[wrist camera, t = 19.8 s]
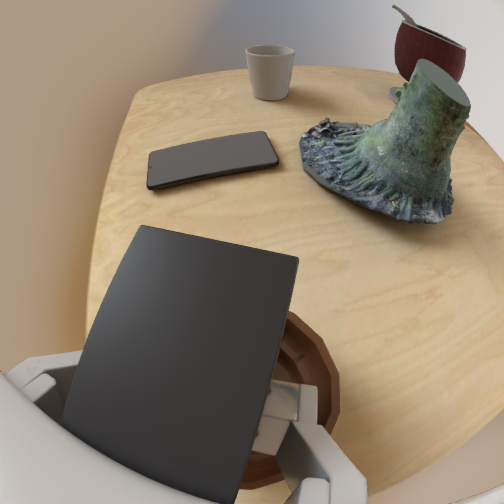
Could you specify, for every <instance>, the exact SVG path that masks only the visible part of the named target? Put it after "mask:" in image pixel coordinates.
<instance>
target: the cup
mask: <svg viewBox="0 0 504 504" xmlns="http://www.w3.org/2000/svg"><path fill="white" fill-rule="evenodd" d="M245 52H246V58H247V64H248V69H249V75H250V79H251V84H252V89H253V94H254V96H256V97H257V98H259V99H262V100H268V101H274V100H280V99H283V98H285V97H286V96H287V94H288V89H289V85H290V80H291V75H292V69H293V62H294V55H295V51H294V49H292V48H290V47H286V46H281V45H257V46H252V47H249V48H247V49H246V51H245Z"/></svg>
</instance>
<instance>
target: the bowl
mask: <svg viewBox="0 0 504 504" xmlns="http://www.w3.org/2000/svg"><path fill="white" fill-rule="evenodd" d="M272 379H276V380H281V381H286V382H291V383H297V384H305V385H311V386H316V387H317V388H318V399H317V425H322V426H323V427H324V429H325V430H326V431H327V432H328V434H329V435H330V434H331V432H332V430H333V428H334V425H335V423H336V421H337V418H338V416H339V412H340V388H339V373H338V370H337V368H336V366H335V364H334V362H333V360H332V358H331V356H330V353H329V351H328V349H327V347H326V345H325V343H324V341H323V339H322V338H321V337H320V336H319V335H318V334H317V333H316V332H314V331H313V330H312V329H311V328H310V327H309V326H308V325H307V324H306V323H304V322H303V321H302V320H301V319H300V318H299V317H298V316H297V315H296V314H294V313H293V312H290V311H288V315H287V319H286V324H285V328H284V332H283V337H282V341H281V345H280V349H279V353H278V357H277V361H276V365H275V369H274V373H273V377H272ZM282 480H285V478H284V476H283V473H282V471H281V469H280V467H279V465H278V463H277V461H276V458H275V456H272V455H268V454H263V453H259V452H255V451H251V454H250V457H249V460H248V463H247V467H246V470H245V473H244V476H243V479H242V482H241V485H240V488H239V489H244V490H252V489H257V488H260V487H264V486H267V485H270V484H273V483H276V482H279V481H282Z"/></svg>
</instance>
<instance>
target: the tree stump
mask: <svg viewBox="0 0 504 504" xmlns="http://www.w3.org/2000/svg"><path fill="white" fill-rule="evenodd" d="M403 86H404V87H403V89H399V90H397V91H396V92H395V95H396V96H397V98H398V99H397V100H398V103H397V105H396V106H395V108H394V110H393V111H392V113H391V114H390V116H389V118H387V119H384V120H381V121H379V122H377V123H375V124H374V125H373V126H372V127H371V126H369V125H364V124H360V123H357V122H356V123H344V122H338V121H337V122H332V123H331V122H330V119H329V118H325V120H324V121H321V122H320V124H319V125H318V126H315V127H313V128H311V129H310V130H309V131H308V132H306V133H304V134H303V136H302V137H301V140H300V142H299V147H300V152H301V157H302V163H303V168H304V171H305V172H306V173H307V174H308V175H309V176H311V177H312V178H313V179H314V180H315V181H316V182H317V183H318V184H319V185H321V186H322V187H325V188H327V189H329V190H331V191H333V192H334V193H336V194H338V195H340V196H342V197H344V198H346V199H348V200H350V201H352V202H354V203H356V204H357V205H361V206H363V207H365V208H368V209H371V210H375V211H379V212H382V213H383V214H385V215H386V216H389V217H391V218H394V219H398V220H401V221H406V222H410V223H414V222H415V223H428V224H437V223H439V222H441V221H444V220H445V219H444V217H445V216H446V215H448V214H451V209H452V208H451V205H452V204H453V202H454V199H453V197H452V192H451V190H452V186H451V182H452V179H451V178H449V177H450V172H451V166H450V155H451V153H452V150H453V147H454V145H455V143H456V141H457V139H458V137H459V135H460V133H461V132H462V131H463V129H465V127H464V122H465V121H466V119H467V118H468V117H469V112H470V108H471V104H470V101H469V99H468V97H467V95H466V93H465V92H464V91H463V89H462V88H461V86H460V85H459V84H458V83H457V82H456V81H455V80H454V79H453V78H452V77H451V76H450V75H449V74H448V73H447V72H445V71H444V70H443V69H441V68H440V67H439V66H437V65H435V64H434V63H432V62H430V61H428V60H426V59H419V60H418V62H417V64H416V67H415V70H414V72H413V74H412V76H411V78H410V81H409V83H404V84H403Z"/></svg>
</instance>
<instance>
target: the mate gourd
mask: <svg viewBox="0 0 504 504" xmlns="http://www.w3.org/2000/svg"><path fill="white" fill-rule="evenodd" d="M392 7H393V8H395V9H396V10H398V11H399V12H400V13H401V14H402V15H403V17H404V18H405V20H406V21H404V20H403V21H402V24H401V26H400V28H399V30H398V33H397V37H396V42H395V64H396V66H397V68H398V70H399V73H400V75H401V76H402V77H403V78H404V79H406V80H407V81H408V82H409V81H410V78H411V76H412V74H413V72H414V70H415V67H416V64H417V62H418V60H419V59H426V60H428V61H430V62H432V63H434V64H435V65H437V66H439V67H440V68H441V69H443V70H444V71H445V72H447V73H448V74H449V75H450V76H451V77H452V78H453V79H454V80H455V81H456V82H457V83H458V82H459V80H460V78H461V76H462V73H463V70H464V66H465V58H466V51H465V50H466V48H465V47H463V46H462V45H460V44H458V43H456V42H455V41H453V40H451V39H449V38H447V37H445V36H443V35H441V34H439V33H437V32H435V31H432V30H430V29H427V28H425V27H422V26H420V25H417V24H416V23H415V22H414V21H413V19H412V18H411V17H410V16H409V15H408V14H406V13H405V12H404V11H402V10H401V9H400V8H398V7H397V6H396V5H393V6H392ZM399 89H403V88H399V87H394V88H391V89H390V90H389V96H390V98H391V99H392V100H393V101H394V102H395V103H396V104H397V103H398V100H397V99H398V98H397V96H396V95H395V92H396V91H397V90H399Z"/></svg>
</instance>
